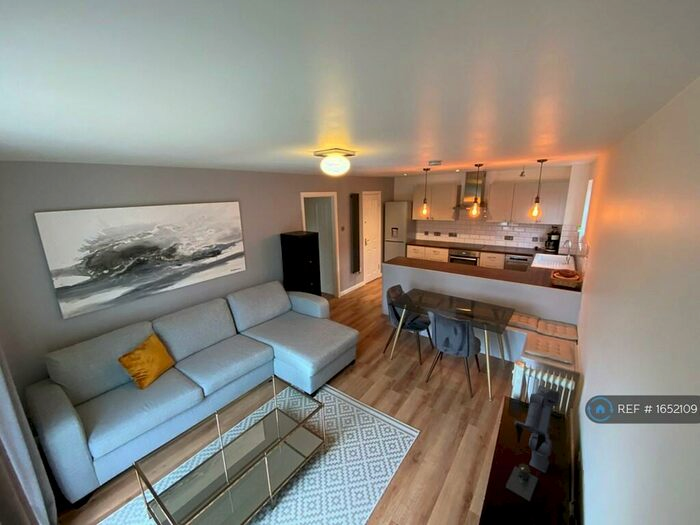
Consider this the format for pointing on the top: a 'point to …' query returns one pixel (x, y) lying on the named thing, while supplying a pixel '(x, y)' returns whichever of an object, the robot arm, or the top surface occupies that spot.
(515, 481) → the socket block
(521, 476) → the end plug
